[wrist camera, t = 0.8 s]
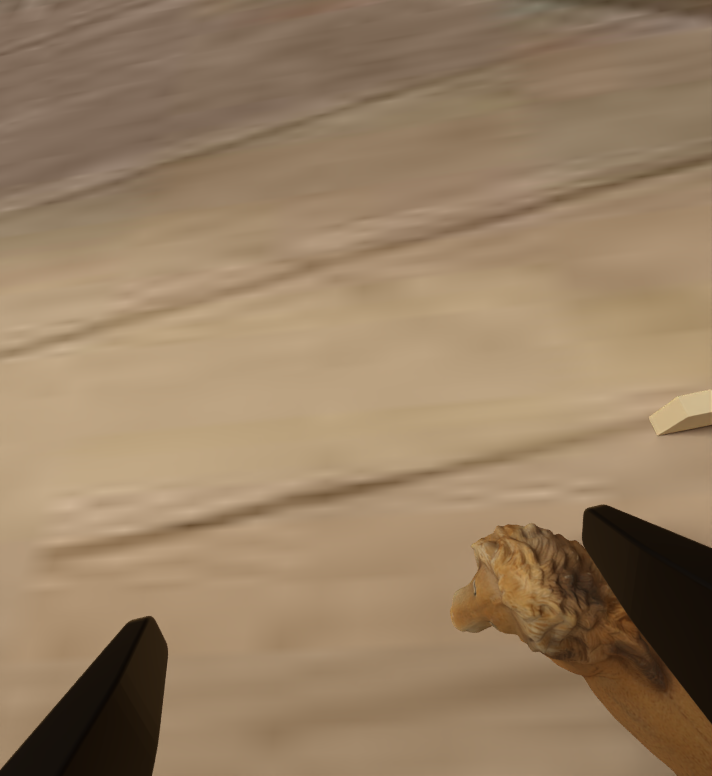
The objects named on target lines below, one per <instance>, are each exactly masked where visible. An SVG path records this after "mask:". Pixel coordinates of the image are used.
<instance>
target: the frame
mask: <svg viewBox="0 0 712 776" xmlns="http://www.w3.org/2000/svg"><path fill="white" fill-rule="evenodd" d="M649 419H650V422H651V424H652V426H653V428H654V430H655V432H656V434H657V436H658V435H663V434H668V433H673V432H678V431H683V430H688V429H693V428H698V427H703V426H708V425H712V389H711V390H706V391H701V392H697V393H692V394H687V395H682V396H678V397H676V398H675V399H673V400H672V401H671V402H669V403H668V404H667V405H665V406H664V407H662V408H661V409H660V410H658V411H657V412H656V413H654V414H653V415H651V416H650V417H649Z"/></svg>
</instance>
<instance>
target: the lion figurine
mask: <svg viewBox="0 0 712 776" xmlns="http://www.w3.org/2000/svg"><path fill="white" fill-rule="evenodd" d="M471 547H472V548H473V549H474V555H475V558H476V562H477V567H478V571H477V573H476V574H475V576H474V578H473V579H472V581H471V582H470V584H469V585H467V586H466V587H463V588H461V589H459V590H458V591H456V593H455V594H454V597H453V600H452V607H451V610H450V614H451V619H452V623H453V625H454V626H455V627H456V628H457V629H458V630H460V631H462V632H465V631H468V632H472V633H477V632H480V631H482V630H484V629H486V628H488V627H491V626H493V627H494V628H496V629H497V630H499V631H500V632H503V633H507V634H516V635H518V636H519V637H520V639H521V641H523V642H524V643H527V644H528V646H529V648H530V649H531V650H532V651H533V652H539V651H540V652H541V653H542V654H544V655H546V656H547V657H548V658H550V659H551V660H552V661H553V662H554V663H556V664H557V665H559V666H561V667H562V668H564V669H566V670H568V671H570V672H573V673H575V674H579V675H582V676H583V677H584V678H585V680H586V682H587V683H588V685H589V686H590V688H591V689H592V691H593V692H594V694H595V695H596V696H597V698H598V699H599V700H600V701H601V702H602V704H603V705H604V706H605V707H606V708H607V709H608V711H609V712H610V713H611V714H612V715H613V716H614V718H615V719H616V720H617V721H619V722H620V723H621V724H622V725H623V726H624V727H625V728H626V729H627V730H628V731H629V732H630V733H631V734H632V735H633V736H634V737H636V738H637V739H638V740H639V741H640V742H641V743H642V744H643V745H644V746H645V747H646V748H647V749H648V750H649V751H650V752H652V753H653V754H654V755H655V756H656V757H657V758H659V759H660V760H661V761H662V762H663V763H665V764H666V765H667V766H668V767H669V768H671V769H672V770H673V771H674V772H675V774H676V775H677V776H712V724H711V723H710V722H709V720H708V719H707V718H706V716H705V715H704V714H703V713H702V711H701V710H700V709H699V707H698V706H697V705H696V704H695V702H694V701H693V700H692V698H691V697H690V696H689V695H688V693H687V692H686V691H685V689H684V688H683V687H682V685H681V684H680V683H679V682H678V680H677V679H676V678H675V676H674V675H673V674H672V673H671V671H670V670H669V669H668V667H667V666H666V665H665V664H664V662H663V661H662V660H661V658H660V657H659V656H658V654H657V653H656V652H655V651H654V649H653V648H652V647H651V645H650V644H649V643H648V642H647V640H646V639H645V638H644V636H643V635H642V634H641V633H640V631H639V630H638V629H637V627H636V626H635V625H634V623H633V622H632V621H631V619H630V618H629V616H628V615H627V613H626V612H625V610H624V609H623V607H622V606H621V604H620V603H619V601H618V600H617V598H616V597H615V595H614V593H613V592H612V590H611V589H610V587H609V586H608V584H607V582H606V581H605V579H604V578H603V576H602V575H601V573H600V571H599V570H598V568H597V567H596V565H595V564H594V562H593V560H592V559H591V557H590V556H589V554H588V553H587V551H586V549H585V548H584V547H583V546H582V545H580V544H579V542H577V541H575V540H574V541H569V540H567V539H565V538H564V537H563V536H562V535H560V534H556V535H553V533H552V532H551V531H550V530H547V529H542V528H540V527H538V526H536V525H535V524H533V523H531V524H528V525H527V526H525V527H523V526H519V525H509V524H508V525H506V526H497V527H496V529H495V531H494V533H493V534H490V535H488V536H487V537H485V538H481V539H480V540H478V541H477V542H476V543H473V544H472V546H471Z"/></svg>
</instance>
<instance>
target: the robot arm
mask: <svg viewBox="0 0 712 776" xmlns="http://www.w3.org/2000/svg"><path fill="white" fill-rule="evenodd" d="M582 541H583V545H584V547H585V549H586V551H587V553H588V554H589V556H590V557H591V559H592V560H593V562H594V564H595V565H596V567H597V568H598V570H599V571H600V573H601V575H602V576H603V578H604V579H605V581H606V582H607V584H608V586H609V587H610V589H611V590H612V592H613V593H614V595H615V597H616V598H617V600H618V601H619V603H620V604H621V606H622V607H623V609H624V610H625V612H626V613H627V615H628V616H629V618H630V619H631V621H632V622H633V623H634V625H635V626H636V627H637V629H638V630H639V631H640V633H641V634H642V635H643V636H644V638H645V639H646V640H647V642H648V643H649V644H650V645H651V647H652V648H653V649H654V651H655V652H656V653H657V654H658V656H659V657H660V658H661V660H662V661H663V662H664V664H665V665H666V666H667V667H668V669H669V670H670V671H671V673H672V674H673V675H674V676H675V678H676V679H677V680H678V682H679V683H680V684H681V685H682V687H683V688H684V689H685V691H686V692H687V693H688V695H689V696H690V697H691V698H692V700H693V701H694V702H695V704H696V705H697V706H698V707H699V709H700V710H701V711H702V713H703V714H704V715H705V716H706V718H707V719H708V720H709V722H710V723H711V724H712V548H710V547H708V546H705V545H703V544H700V543H698V542H696V541H693V540H691V539H688V538H686V537H683V536H681V535H679V534H676V533H674V532H671V531H669V530H666V529H664V528H662V527H659V526H657V525H654V524H652V523H649V522H647V521H645V520H642V519H640V518H637V517H635V516H632V515H630V514H627V513H625V512H623V511H620V510H618V509H615V508H613V507H610V506H608V505H598V506H594V507H590V508H587V509H586V510H585V511H584V514H583V529H582ZM167 660H168V647H167V643H166V641H165V639H164V637H163V635H162V633H161V631H160V629H159V627H158V625H157V623H156V621H155V619H154V618H153V617H152V616H146V617H142V618H138V619H134V620H131V621H129V622H128V623H127V624H126V625H125V626H124V627H123V628H122V629H121V630H120V632H119V633H118V634H117V635H116V636H115V637H114V639H113V640H112V641H111V642H110V643H109V644H108V646H107V647H106V648H105V649H104V650H103V651H102V652H101V654H100V655H99V656H98V657H97V658H96V659H95V661H94V662H93V663H92V664H91V665H90V666H89V668H88V669H87V670H86V671H85V672H84V673H83V674H82V676H81V677H80V678H79V679H78V680H77V681H76V683H75V684H74V685H73V686H72V687H71V688H70V690H69V691H68V692H67V693H66V694H65V695H64V697H63V698H62V699H61V700H60V701H59V702H58V703H57V705H56V706H55V707H54V708H53V709H52V710H51V712H50V713H49V714H48V715H47V716H46V717H45V719H44V720H43V721H42V722H41V723H40V724H39V725H38V727H37V728H36V729H35V730H34V731H33V732H32V734H31V735H30V736H29V737H28V738H27V739H26V741H25V742H24V743H23V744H22V745H21V746H20V747H19V749H18V750H17V751H16V752H15V753H14V754H13V756H12V757H11V758H10V759H9V760H8V761H7V763H6V764H5V765H4V766H3V767H2V768H1V770H0V776H152V773H153V768H154V763H155V758H156V752H157V747H158V740H159V732H160V724H161V714H162V705H163V696H164V687H165V678H166V669H167Z"/></svg>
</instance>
